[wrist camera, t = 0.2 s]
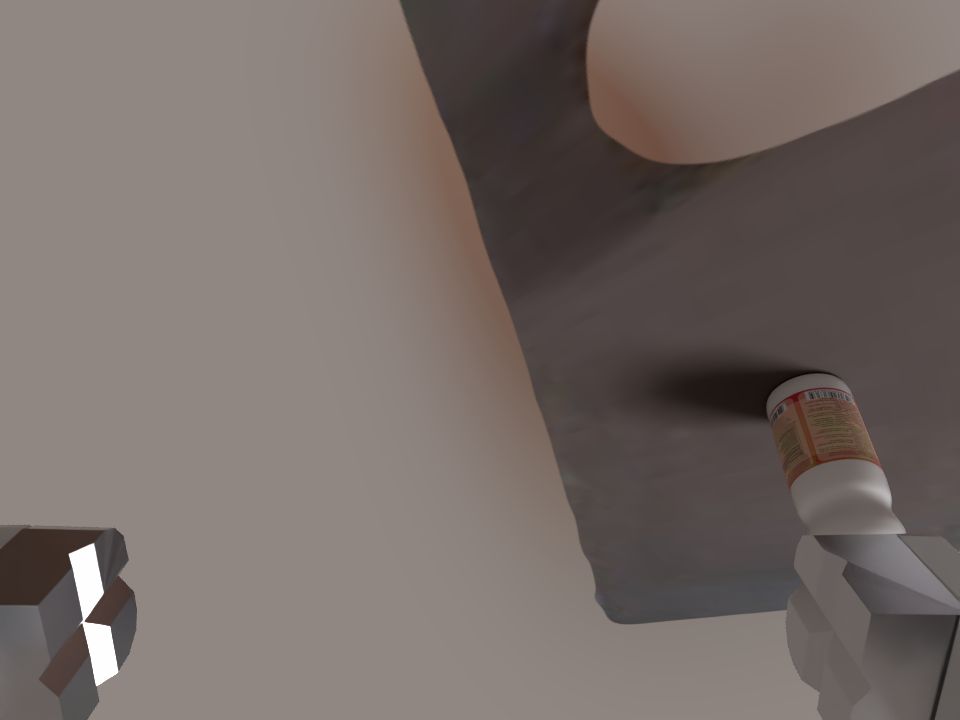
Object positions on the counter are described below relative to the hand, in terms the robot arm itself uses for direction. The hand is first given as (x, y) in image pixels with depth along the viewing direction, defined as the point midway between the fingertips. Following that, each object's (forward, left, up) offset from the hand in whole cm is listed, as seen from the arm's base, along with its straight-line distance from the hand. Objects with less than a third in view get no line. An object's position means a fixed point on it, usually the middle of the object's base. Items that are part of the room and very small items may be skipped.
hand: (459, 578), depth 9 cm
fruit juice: (+71, +4, -54) cm, 89 cm away
